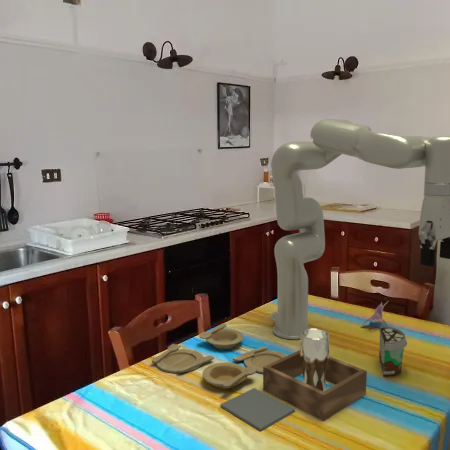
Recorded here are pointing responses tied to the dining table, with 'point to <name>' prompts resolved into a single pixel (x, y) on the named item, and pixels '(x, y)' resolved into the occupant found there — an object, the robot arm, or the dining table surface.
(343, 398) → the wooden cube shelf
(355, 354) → the dining table surface
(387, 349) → the food container
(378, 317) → the lily
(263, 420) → the grey mat
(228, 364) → the tableware set
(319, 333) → the beer glass
